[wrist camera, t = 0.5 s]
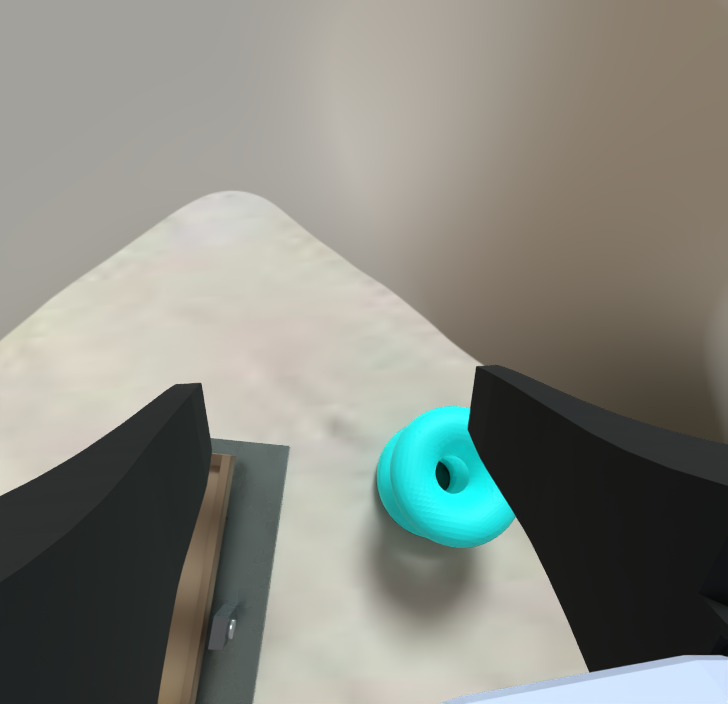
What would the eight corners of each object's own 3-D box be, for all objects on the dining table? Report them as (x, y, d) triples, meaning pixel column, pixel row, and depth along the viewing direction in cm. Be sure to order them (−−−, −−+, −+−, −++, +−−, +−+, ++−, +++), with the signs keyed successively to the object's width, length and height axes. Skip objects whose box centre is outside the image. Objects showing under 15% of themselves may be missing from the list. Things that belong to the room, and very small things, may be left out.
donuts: (534, 416, 32) (529, 562, 28) (484, 434, 41) (475, 545, 38) (404, 390, 31) (383, 535, 28) (383, 415, 41) (366, 525, 37)
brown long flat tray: (175, 825, 28) (163, 854, 26) (75, 821, 28) (55, 850, 26) (236, 455, 34) (230, 455, 32) (153, 447, 33) (142, 446, 31)
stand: (234, 835, 30) (218, 899, 25) (25, 828, 29) (-31, 893, 24) (289, 447, 39) (286, 440, 34) (131, 431, 38) (105, 422, 33)
